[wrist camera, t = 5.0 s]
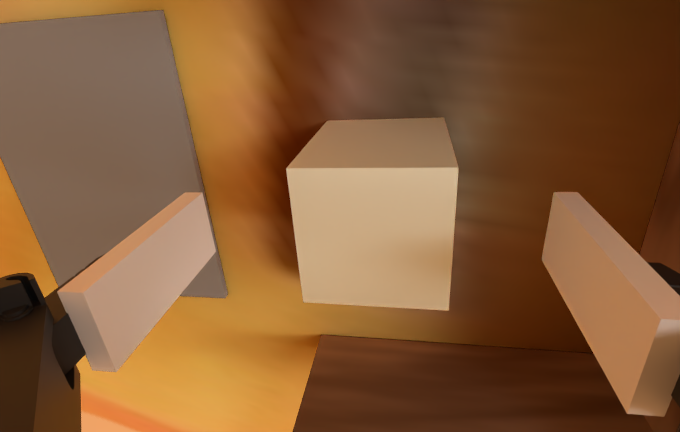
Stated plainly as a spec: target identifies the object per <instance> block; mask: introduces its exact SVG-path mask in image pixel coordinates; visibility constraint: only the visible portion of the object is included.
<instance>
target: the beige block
mask: <svg viewBox="0 0 680 432" xmlns="http://www.w3.org/2000/svg"><path fill="white" fill-rule="evenodd" d="M458 170H459V167H458V164H457V160H456V157H455V153H454V150H453V146H452V143H451V139H450V136H449V133H448V129H447V126H446V122H445V119H444V117H442V118H404V119H367V120H329V121H326V122H325V124H324V125H323V126H322V127H321V128H320V129H319V131H318V132H317V133H316V134H315V135H314V136H313V138H312V139H311V140H310V141H309V142H308V143H307V145H306V146H305V147H304V148H303V149H302V150H301V152H300V153H299V154H298V155H297V156H296V157H295V159H294V160H293V161H292V162H291V163H290V164H289V166H288V167H287V168H286V172H287V179H288V187H289V195H290V203H291V211H292V219H293V226H294V234H295V242H296V250H297V258H298V265H299V273H300V281H301V289H302V297H303V302H305V303H323V304H341V305H358V306H376V307H393V308H411V309H429V310H446V311H449V300H450V285H451V271H452V256H453V242H454V227H455V213H456V199H457V184H458Z"/></svg>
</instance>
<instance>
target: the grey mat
mask: <svg viewBox="0 0 680 432" xmlns="http://www.w3.org/2000/svg"><path fill="white" fill-rule="evenodd" d="M0 157H1V159H2V162H3V164H4V166H5V168H6V171H7V173H8V175H9V177H10V180H11V182H12V184H13V186H14V188H15V191H16V193H17V195H18V197H19V200H20V202H21V204H22V206H23V208H24V211H25V213H26V215H27V217H28V220H29V222H30V224H31V226H32V228H33V231H34V233H35V235H36V237H37V240H38V242H39V244H40V246H41V249H42V251H43V253H44V255H45V257H46V260H47V262H48V264H49V266H50V269H51V271H52V273H53V275H54V277H55V280H56V282H57V284H58V286H59V287H60V286H61V285H62V284H64V283H65V282H66V281H67V280H69V279H70V278H71V277H73V276H75V274H77V273H78V272H79V271H81V270H82V269H85V267H86V266H87V265H88V264H90V263H91V262H92V261H94V260H95V259H96V258H98V257H100V256H102V255H104V254H106V253H107V252H109V251H110V250H111V249H113V248H114V247H115V246H116V245H118V244H119V243H120V242H122V241H123V240H124V239H125V238H127V237H128V236H129V235H131V234H132V233H133V232H134V231H136V230H137V229H138V228H140V227H141V226H142V225H143V224H145V223H146V222H147V221H149V220H150V219H151V218H153V217H154V216H155V215H156V214H158V213H159V212H160V211H162V210H163V209H164V208H165V207H167V206H168V205H169V204H171V203H172V202H173V201H174V200H176V199H177V198H178V197H180V196H181V195H182V194H183V193H185V192H202V193H203V197H204V201H205V206H206V210H207V214H208V219H209V223H210V227H211V232H212V236H213V240H214V245H215V249H216V252H215V253H214V255H213V256H212V257H211V258H210V260H209V261H208V262H207V263H206V264H205V266H204V267H203V268H202V269H201V270H200V272H199V273H198V274H197V275H196V276H195V278H194V279H193V280H192V281H191V282H190V284H189V285H188V286H187V287H186V289H185V290H184V291H183V292H182V293H181V295H180V296H192V297H210V298H226V297H227V295H228V292H227V288H226V283H225V279H224V275H223V270H222V266H221V261H220V257H219V253H218V248H217V244H216V240H215V235H214V231H213V226H212V222H211V218H210V213H209V209H208V204H207V200H206V196H205V191H204V187H203V183H202V178H201V174H200V169H199V165H198V161H197V156H196V152H195V147H194V143H193V139H192V134H191V130H190V126H189V121H188V117H187V112H186V108H185V104H184V99H183V95H182V90H181V86H180V82H179V77H178V73H177V69H176V64H175V60H174V55H173V51H172V47H171V42H170V38H169V34H168V29H167V25H166V20H165V16H164V12H163V10H155V11H144V12H132V13H120V14H108V15H96V16H84V17H72V18H61V19H49V20H37V21H25V22H13V23H1V24H0Z"/></svg>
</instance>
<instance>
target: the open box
mask: <svg viewBox="0 0 680 432" xmlns="http://www.w3.org/2000/svg"><path fill="white" fill-rule="evenodd" d="M639 255H640V256H641V257H642V258H643V259H644V260H645V261H646V262H652V263H661V264H663V265H665V266H667V267H669V268H671V269H672V270H674V271H676V272H678V273H680V122H679V126H678V129H677V132H676V135H675V139H674V142H673V145H672V149H671V152H670V155H669V158H668V162H667V165H666V168H665V172H664V175H663V178H662V181H661V185H660V188H659V191H658V195H657V198H656V201H655V204H654V208H653V211H652V214H651V218H650V221H649V224H648V228H647V231H646V234H645V237H644V241H643V244H642V247H641V251H640V254H639ZM679 423H680V407H679V406H678V405H677V403H676V402H675V400H674V399H673V397H672V400H671V402H670V404H669V407H668V409H667V412H666V414H665V416H664V417H661V416H649V415H637V414H627V413H626V411H625V409H624V407H623V406H622V404H621V402H620V400H619V398H618V397H617V395H616V393H615V391H614V389H613V388H612V386H611V384H610V382H609V380H608V379H607V377H606V375H605V373H604V371H603V370H602V368H601V366H600V364H599V362H598V361H597V359H596V357H595V355H594V354H593V353H578V352H564V351H549V350H535V349H520V348H506V347H491V346H477V345H463V344H448V343H434V342H419V341H405V340H390V339H376V338H361V337H347V336H332V335H321V337H320V341H319V344H318V348H317V351H316V354H315V358H314V361H313V365H312V368H311V371H310V375H309V378H308V381H307V385H306V388H305V392H304V395H303V398H302V402H301V405H300V409H299V412H298V415H297V419H296V422H295V426H294V429H293V432H676V430H677V428H678V426H679Z"/></svg>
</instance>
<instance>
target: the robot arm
mask: <svg viewBox="0 0 680 432" xmlns="http://www.w3.org/2000/svg"><path fill="white" fill-rule="evenodd" d="M215 252H216V249H215V245H214V240H213V236H212V232H211V227H210V223H209V219H208V214H207V210H206V206H205V201H204V197H203V193H202V192H185V193H183V194H182V195H181V196H180V197H178V198H177V199H176V200H174V201H173V202H172V203H171V204H169V205H168V206H167V207H165V208H164V209H163V210H162V211H160V212H159V213H158V214H156V215H155V216H154V217H153V218H151V219H150V220H149V221H147V222H146V223H145V224H143V225H142V226H141V227H140V228H138V229H137V230H136V231H134V232H133V233H132V234H131V235H129V236H128V237H127V238H125V239H124V240H123V241H122V242H120V243H119V244H118V245H116V246H115V247H114V248H113V249H111V250H110V251H109V252H107V253H106V254H104V255H102V256H100V257H98V258H96V259H95V260H94V261H92V262H91V263H90V264H88V265H87V266H86V267H85V269H82V270H81V271H79V272H78V273H77V274H75V276H73V277H71V278H70V279H69V280H67V281H66V282H65V283H64V284H62V285H61V286H60V287H58V288H57V289H56V290H54V291H53V292H52V293H50V294H49V295H48V296H47V297H45V298H44V296H43V294H42V292H41V290H40V288H39V286H38V284H37V282H36V280H35V277H34V275H33V274H29V273H17V274H12V275H8V276H5V277H2V278H0V432H81V394H80V373H79V370H78V368H77V366H76V364H77V362H78V361H79V360H80V359H81V358H82V357H83V356H84V355H86V357H87V359H88V362H89V364H90V366H91V368H92V370H96V371H108V372H117V371H118V369H119V368H120V367H121V366H122V365H123V363H124V362H125V361H126V360H127V359H128V357H129V356H130V355H131V354H132V353H133V351H134V350H135V349H136V348H137V347H138V345H139V344H140V343H141V342H142V340H143V339H144V338H145V337H146V336H147V334H148V333H149V332H150V331H151V330H152V328H153V327H154V326H155V325H156V324H157V322H158V321H159V320H160V319H161V318H162V316H163V315H164V314H165V313H166V311H167V310H168V309H169V308H170V307H171V305H172V304H173V303H174V302H175V301H176V299H177V298H178V297H179V296H180V295H181V293H182V292H183V291H184V290H185V289H186V287H187V286H188V285H189V284H190V282H191V281H192V280H193V279H194V278H195V276H196V275H197V274H198V273H199V272H200V270H201V269H202V268H203V267H204V266H205V264H206V263H207V262H208V261H209V260H210V258H211V257H212V256H213V255H214V253H215ZM542 261H543V263H544V265H545V267H546V269H547V270H548V272H549V274H550V276H551V278H552V279H553V281H554V283H555V285H556V287H557V289H558V290H559V292H560V294H561V296H562V298H563V299H564V301H565V303H566V305H567V307H568V308H569V310H570V312H571V314H572V316H573V317H574V319H575V321H576V323H577V325H578V326H579V328H580V330H581V332H582V334H583V335H584V337H585V339H586V341H587V343H588V344H589V346H590V348H591V350H592V352H593V353H594V355H595V357H596V359H597V361H598V362H599V364H600V366H601V368H602V370H603V371H604V373H605V375H606V377H607V379H608V380H609V382H610V384H611V386H612V388H613V389H614V391H615V393H616V395H617V397H618V398H619V400H620V402H621V404H622V406H623V407H624V409H625V411H626V413H627V414H637V415H649V416H661V417H664V416H665V414H666V412H667V409H668V407H669V404H670V402H671V400H672V397H673V399H674V400H675V402H676V403H677V405H678V406H679V407H680V273H678V272H676V271H674V270H672V269H671V268H669V267H667V266H665V265H663V264H661V263H652V262H646V261H645V260H644V259H643V258H642V257H641V256H640V255H639V254H638V253H637V252H636V251H635V250H634V249H633V248H632V247H631V246H630V245H629V244H628V243H627V242H626V241H625V240H624V239H623V238H622V237H621V236H620V235H619V234H618V233H617V232H616V231H615V230H614V229H613V228H612V227H611V225H610V224H609V223H608V222H607V221H606V220H605V219H604V218H603V217H602V216H601V215H600V214H599V213H598V212H597V211H596V210H595V209H594V208H593V207H592V206H591V205H590V204H589V203H588V202H587V201H586V200H585V199H584V198H583V197H582V196H581V195H580V194H579V193H578V192H554V193H553V199H552V204H551V210H550V215H549V221H548V226H547V232H546V237H545V243H544V248H543V254H542ZM676 432H680V423H679V426H678V428H677V430H676Z"/></svg>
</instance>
